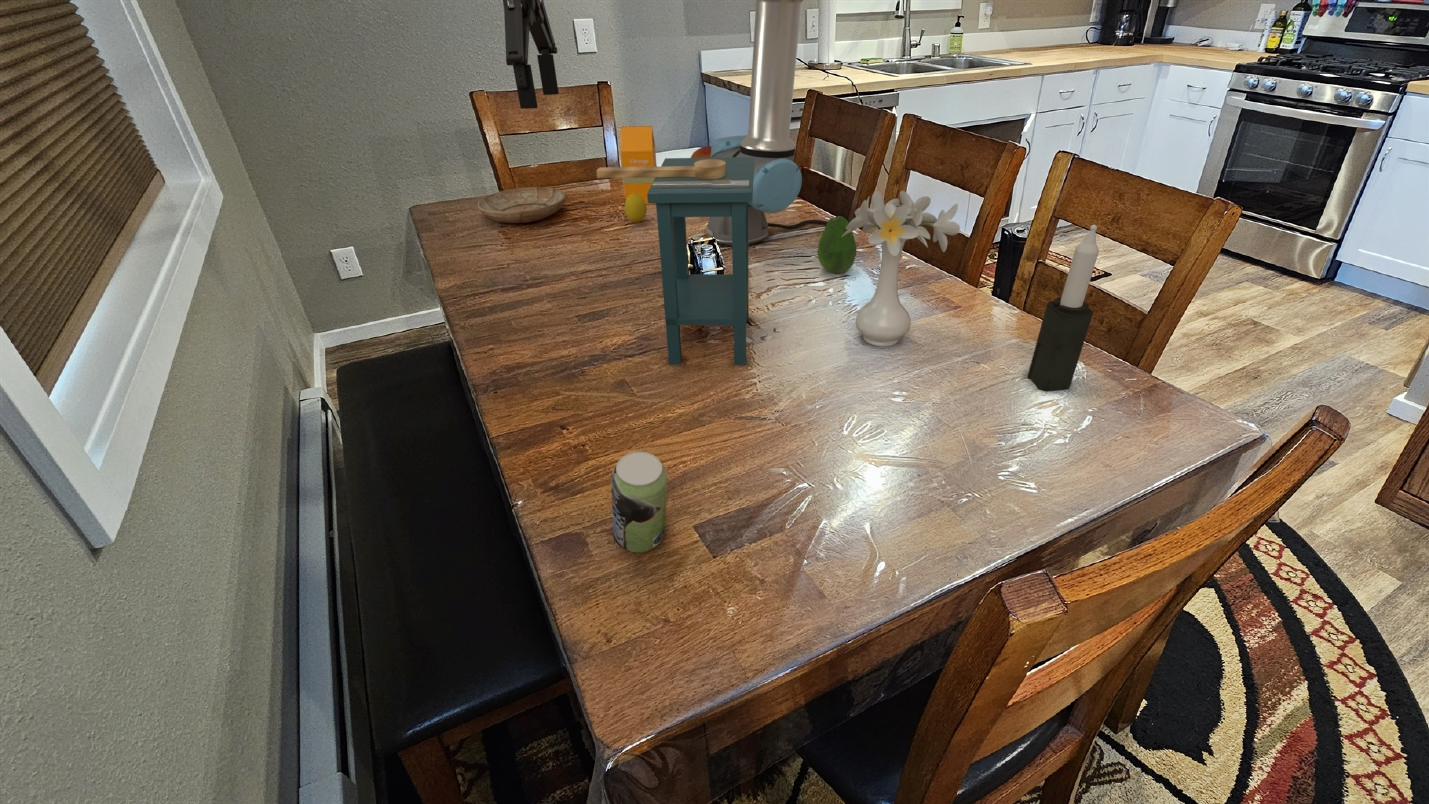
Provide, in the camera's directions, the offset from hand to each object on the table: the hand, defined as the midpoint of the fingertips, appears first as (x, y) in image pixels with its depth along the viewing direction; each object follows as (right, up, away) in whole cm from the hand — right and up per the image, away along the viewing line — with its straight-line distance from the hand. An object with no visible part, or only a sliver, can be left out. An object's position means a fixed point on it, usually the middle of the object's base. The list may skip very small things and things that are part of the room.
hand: (540, 101), depth 116 cm
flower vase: (+61, -42, 0) cm, 74 cm away
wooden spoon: (+23, -18, -15) cm, 33 cm away
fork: (+29, -22, -20) cm, 41 cm away
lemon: (+10, -7, +55) cm, 57 cm away
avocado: (+57, -26, +25) cm, 67 cm away
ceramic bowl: (-21, -3, +64) cm, 67 cm away
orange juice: (+10, +4, +72) cm, 73 cm away
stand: (+30, -42, +2) cm, 52 cm away
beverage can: (+22, -70, -39) cm, 83 cm away
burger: (+30, +15, +87) cm, 93 cm away
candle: (+83, -50, -13) cm, 98 cm away
